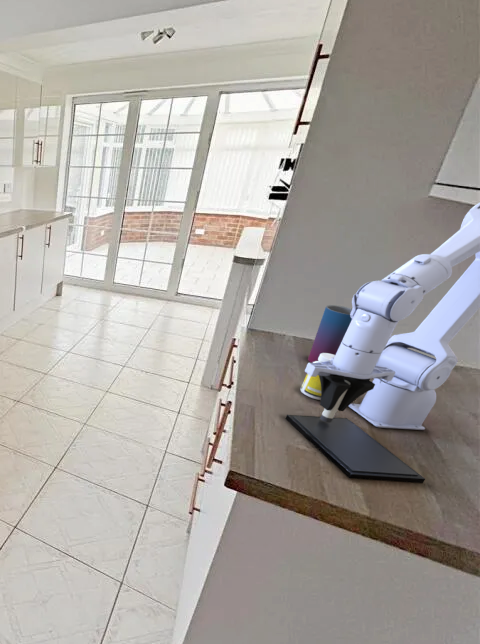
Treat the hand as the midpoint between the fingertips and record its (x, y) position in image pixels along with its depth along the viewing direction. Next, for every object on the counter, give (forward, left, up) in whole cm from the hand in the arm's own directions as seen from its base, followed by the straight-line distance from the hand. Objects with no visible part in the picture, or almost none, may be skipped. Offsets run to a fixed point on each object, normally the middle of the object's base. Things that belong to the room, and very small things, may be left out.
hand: (331, 407), depth 81 cm
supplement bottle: (-7, -13, -5) cm, 15 cm away
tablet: (0, +6, -5) cm, 8 cm away
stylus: (0, 0, -3) cm, 3 cm away
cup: (-20, -30, -5) cm, 36 cm away
